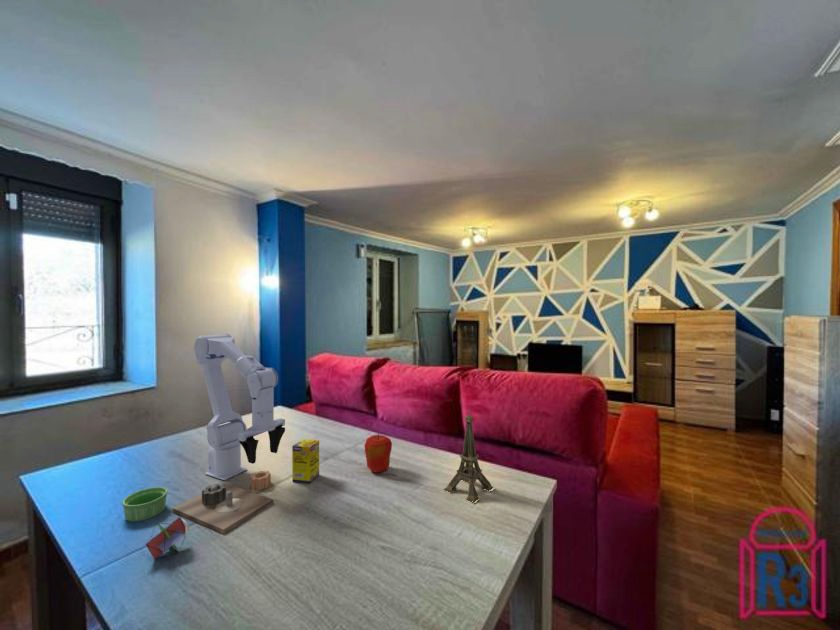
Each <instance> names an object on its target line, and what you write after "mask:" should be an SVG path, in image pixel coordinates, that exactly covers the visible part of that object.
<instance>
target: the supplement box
mask: <svg viewBox="0 0 840 630" xmlns="http://www.w3.org/2000/svg"><path fill="white" fill-rule="evenodd" d="M291 449H292V465H291V466H292V482H293V483H302V484H311V483H312V481H314V480H315V479H316V478H317V477H318V476H319V475H320V440H319V439H309V438H308V439H307V438H301V439H300V440H299V441H298V442H297V443H295V444H293V445H292V448H291Z"/></svg>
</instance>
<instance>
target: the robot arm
mask: <svg viewBox="0 0 840 630" xmlns="http://www.w3.org/2000/svg"><path fill="white" fill-rule="evenodd" d="M193 351H194V354H195V358H196V362H197V364H198V365H201V369H202V373H203V378H204V381H205V385H206V388H207V394H208V397H209V400H210V405H211V410H212V412H213V417H212V419H211V420H210V421H209V422H208V424H207V425H206V430H207V432H206V433H207V435H206V436H207V437H206V440H207V442H208V445H209V446H210V447H209V449H208V451H207V471H206V472H205V475H207V476H210V477H213V478H216V479H219V480H222V481H227V480H228V479H230V478H233V477H235V476H238V474H241V473H242V472H245V471H247V470H248V468H247V467H245V466H242V463H241V461H242V459H241V458H242V452H241V451H242V449H241V447H242V448H243V450H244V452H245V456H246V458H247V459H246V460H247V462H248V463H249V464H256V462H257V461H256V460H257V448H258V444H259V441H260V440H259V439H255V437H256V436H258V435H261V434H264V433H266V432H267V434H268V437H269V450H270V453H273V454H277V453H278V450H279V447H280V443H281V440H282V438H283V435H284V434H285V432H286V427H284V426H285V425H286V419H285V418H281V417H280V418H278V419H277V418H276V419H274V417H275V416H274V415H275V414H274V411H275V409H274V407H275V406H274V405H275V404H274V401H275V400H274V396H275V395H274V391H275V389H274V388H275V387H276V386H277V385H278V382H279V377H278V372H277V371H276V370H275V369H274V367H267V366H266V367H265V366H264V365H263V364H261V363H260V362H259V361H258V360H256V358H255V357H254V356H253V355H249V354H248V355H245V354H244V353H243V352H242V351H241V350H240V348H239V347H238V346H237V345H236V341H235V337H233V336H232V335H231V334H230V333H225V334H214V335H213V334H212V335H199V336H197V338H196V339H195V342H194V345H193ZM227 359H228V360H230V361H231V362H232V363H234V365H235V370H236V371H237V372H238V373H239V374H240V375H241V376H242V377H243V378H244V379H245V380H246V383H247V387H248V390H249V395H250V397H251V426H250V427H248V428H247V425H246V423H245V421H244V420H243V417H242V414H240V413H238V412H235V411H234V410H233V408H232V404H231V400H230V397H229V393H228V392H229V391H228V390H227V385H226V381H225V377H224V374H223V370H222V366H221V365H222V363H223V362H225V361H226V360H227Z"/></svg>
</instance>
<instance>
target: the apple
mask: <svg viewBox="0 0 840 630" xmlns="http://www.w3.org/2000/svg"><path fill="white" fill-rule="evenodd" d="M392 448H393V442H392V441H391V439H390V438H389V437H388V436H385V435H382V434H379V433H377V434H376V435H371V436H369V437H368V438H366V441H365V443H364V453H365V458H366V466H367V467H368V469H369V470H370V471H371V472H373V473H376V474H377V473H380V474H381V473H384V472H385V471H387V470H388V468H389V467H390V463H391V462H390V461H391V460H390V458H391V457H390V456H391V453H392Z"/></svg>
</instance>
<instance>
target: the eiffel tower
mask: <svg viewBox="0 0 840 630" xmlns="http://www.w3.org/2000/svg"><path fill="white" fill-rule="evenodd" d="M463 421H464V422H465V433H464V441H463V449H462V453H460V455H459V458H461V459H460V464H459V467H458V469H456V474H455V475H454V476H453V478H452V479H451V480H450V482H449V483H448V484H447V486H446V487H445V488H443V489H442V490H443V491H444V490H445V491H444V492H446V491H448V492H450V493H449V494H453V493H454V492H456V491H457V490H458V488H457V486H458V485H459V483H460V482H463V481H465V482H468V483H467V484H469V485H468V493H467V497H466V499H465V501H466V500H468V501H470V502H472V501H473V502H472V503H471V504H473V503H474V502H475V501H476V500H478V499H480V497H479V496H478V492H477V490H476V486H475V482H476V481H477V480H478V481H479V484H481V486H482V487H481V489H482V488H483V489H486V490H488V491H489V490H491V489H492V488H493V487H494V486H492V484H491V482H490V481H489V480H488V479H487V477H486V476H485V475H484V473H483V469H481V467H480V465H479V460H478V459H479V457H480V456H479V454H477V453H476V452H477V451H476V445H475V444H476V443H475V437H474V428H473V422H474V421H475V419H474V416H472V415H471V409H470V407H468V415H467V416H465V417H464V419H463ZM461 480H463V481H461ZM465 482H464V483H465ZM456 489H457V490H456ZM455 490H456V491H455ZM453 491H454V492H453ZM448 492H447V493H448ZM452 492H453V493H452ZM468 501H467V502H468ZM470 502H469V503H470ZM473 505H476V504H475V503H474V504H473Z"/></svg>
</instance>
